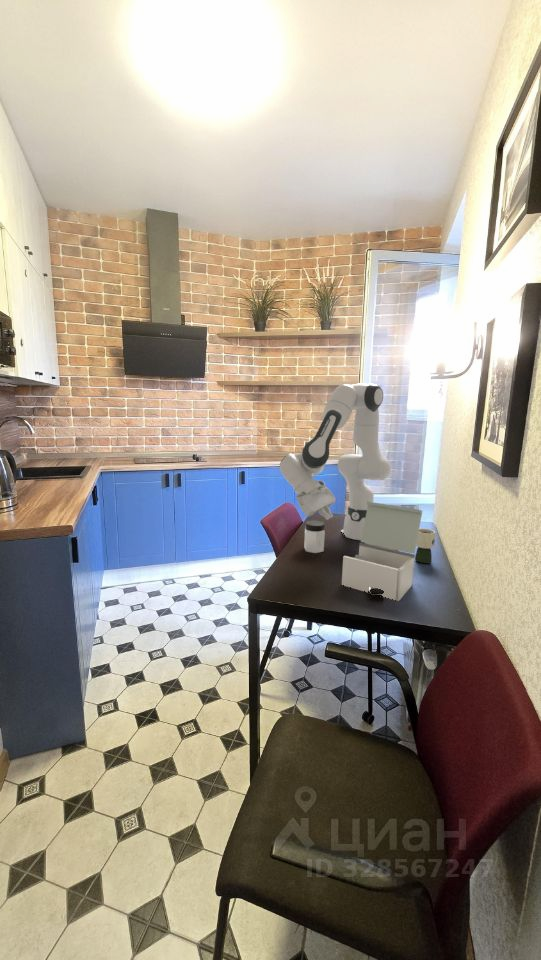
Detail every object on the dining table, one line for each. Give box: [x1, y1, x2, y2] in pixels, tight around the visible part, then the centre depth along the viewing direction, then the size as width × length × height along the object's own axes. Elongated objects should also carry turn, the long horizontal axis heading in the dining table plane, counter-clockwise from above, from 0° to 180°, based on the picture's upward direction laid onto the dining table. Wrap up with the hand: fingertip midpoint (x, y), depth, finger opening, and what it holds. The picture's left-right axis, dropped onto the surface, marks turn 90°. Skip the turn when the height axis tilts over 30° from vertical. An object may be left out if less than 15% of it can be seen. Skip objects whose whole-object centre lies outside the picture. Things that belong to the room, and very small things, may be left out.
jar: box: [303, 519, 326, 554], centre depth 177 cm, size 9×8×12 cm
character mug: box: [414, 528, 436, 564], centre depth 165 cm, size 11×7×13 cm, turn 168°
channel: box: [341, 542, 416, 602], centre depth 143 cm, size 15×20×12 cm
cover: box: [360, 501, 423, 555], centre depth 148 cm, size 15×20×2 cm
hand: (330, 518), depth 158 cm, fingers closed
